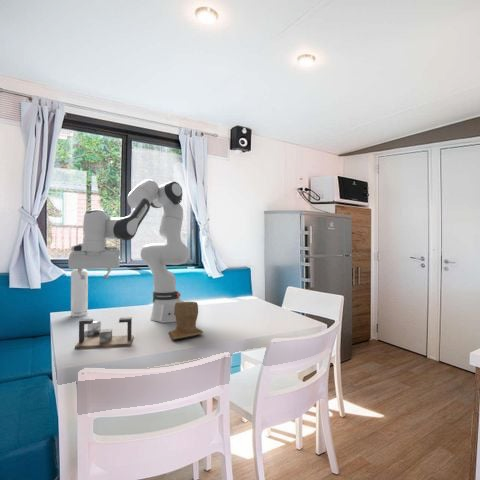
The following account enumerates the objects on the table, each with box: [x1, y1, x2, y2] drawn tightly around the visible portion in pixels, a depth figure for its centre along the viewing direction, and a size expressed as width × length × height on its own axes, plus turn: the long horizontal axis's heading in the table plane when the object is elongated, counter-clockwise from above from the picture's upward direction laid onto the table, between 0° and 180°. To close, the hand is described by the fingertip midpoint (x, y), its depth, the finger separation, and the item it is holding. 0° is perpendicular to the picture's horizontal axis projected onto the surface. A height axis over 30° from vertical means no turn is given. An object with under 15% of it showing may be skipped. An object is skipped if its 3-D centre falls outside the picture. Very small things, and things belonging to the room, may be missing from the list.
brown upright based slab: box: [168, 301, 204, 341], centre depth 141 cm, size 15×12×15 cm
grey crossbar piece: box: [87, 319, 102, 337], centre depth 142 cm, size 12×5×5 cm, turn 12°
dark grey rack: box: [74, 316, 134, 350], centre depth 131 cm, size 20×11×10 cm, turn 102°
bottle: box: [70, 269, 89, 317], centre depth 176 cm, size 8×8×28 cm
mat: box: [84, 330, 100, 337], centre depth 142 cm, size 9×9×1 cm
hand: (94, 279), depth 141 cm, fingers open, 8 cm apart
